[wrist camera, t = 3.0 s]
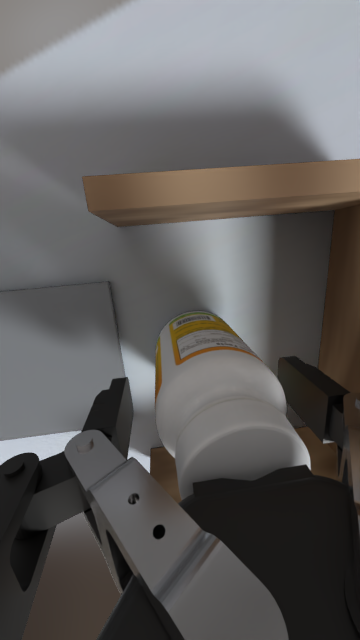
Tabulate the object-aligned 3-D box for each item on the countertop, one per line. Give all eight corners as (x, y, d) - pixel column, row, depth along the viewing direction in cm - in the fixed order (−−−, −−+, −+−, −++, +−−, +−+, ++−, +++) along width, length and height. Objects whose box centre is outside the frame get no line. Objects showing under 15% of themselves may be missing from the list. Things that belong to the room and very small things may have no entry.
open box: (352, 190, 14) (487, 150, 8) (322, 434, 19) (391, 512, 14) (114, 207, 13) (82, 176, 7) (152, 458, 18) (150, 553, 13)
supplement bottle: (199, 395, 17) (249, 566, 8) (139, 355, 16) (114, 505, 7) (249, 339, 16) (371, 461, 7) (189, 292, 15) (244, 365, 6)
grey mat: (109, 281, 14) (107, 282, 14) (132, 418, 17) (131, 423, 17) (-67, 297, 14) (-75, 299, 13) (-11, 437, 17) (-16, 442, 16)
